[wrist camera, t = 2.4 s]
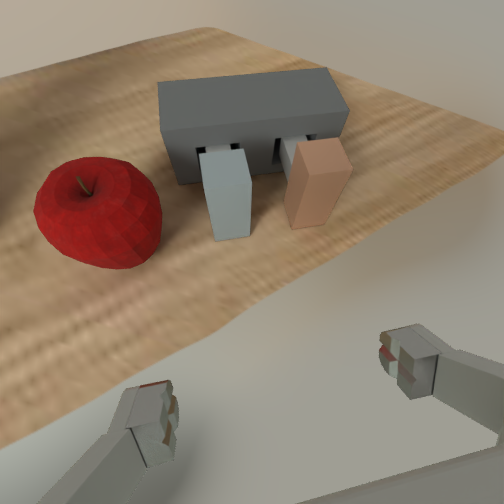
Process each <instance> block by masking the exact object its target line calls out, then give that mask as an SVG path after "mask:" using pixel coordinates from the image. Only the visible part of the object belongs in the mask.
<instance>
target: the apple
mask: <svg viewBox="0 0 504 504" xmlns="http://www.w3.org/2000/svg"><path fill="white" fill-rule="evenodd" d="M33 212H34V215H35V218H36V221H37V224H38V228H39V229H40V231H41V232H42V233H43V235H44V236H45V238H46V239H47V240H48V242H49V243H51V244H52V245H53V246H54V247H55V248H56V249H57V250H59V251H60V252H61V253H62V254H63V255H66V256H68V257H71V258H73V259H76V260H78V261H80V262H83V263H86V264H90V265H93V266H97V267H101V268H109V269H127V268H132V267H135V266H137V265H139V264H142V263H144V262H145V261H146V260H147V259H148V258H149V257H150V256H151V255H152V254H153V253H154V252H155V250H156V248H157V246H158V244H159V242H160V237H161V228H162V210H161V205H160V200H159V197H158V194H157V192H156V190H155V188H154V186H153V184H152V182H151V181H150V180H149V179H148V178H147V177H146V176H145V175H144V174H143V173H142V172H141V171H139V170H138V169H137V168H136V167H134V166H133V165H132V164H131V163H129V162H126V161H122V160H117V159H113V158H106V157H83V158H80V159H76V160H72V161H69V162H66V163H64V164H63V165H61V166H59V167H58V168H56V169H55V170H53V171H51V173H50V174H49V176H48V177H47V179H46V181H45V182H44V184H43V185H42V187H41V188H40V190H39V191H38V192H37V196H36V201H35V206H34V211H33Z"/></svg>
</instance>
